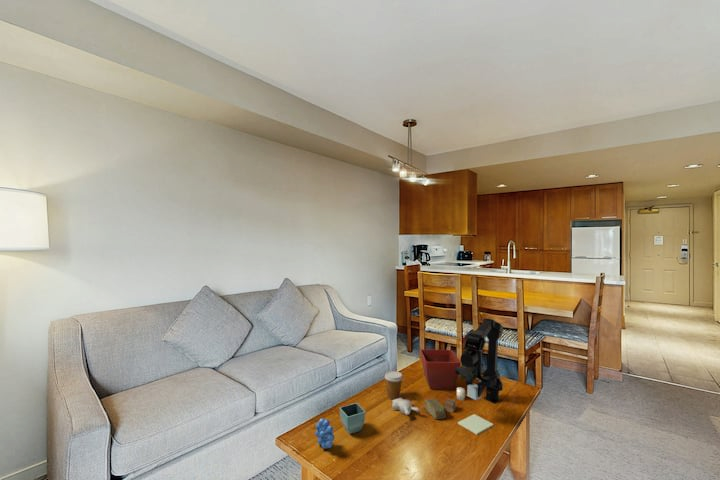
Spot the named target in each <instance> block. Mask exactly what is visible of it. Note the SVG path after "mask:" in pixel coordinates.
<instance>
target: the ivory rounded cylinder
mask: <svg viewBox="0 0 720 480" xmlns="http://www.w3.org/2000/svg"><path fill="white" fill-rule="evenodd" d="M465 393H466V391H465V388H464V387H462V386H461V387H459V386H458V387H456V400H458V401H465V396H466V394H465Z"/></svg>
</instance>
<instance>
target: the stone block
mask: <svg viewBox="0 0 720 480" xmlns="http://www.w3.org/2000/svg"><path fill="white" fill-rule="evenodd" d="M424 409H425V410H426V411H427V412H428V414H430V415H431V416H432V417H433V419H435V420H443V419H446V418H447V410H445V406H443V405H442V404H441V403H440V402H439V401H438V400H437V399H436V398H427V399H425V400H424Z"/></svg>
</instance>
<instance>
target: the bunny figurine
mask: <svg viewBox="0 0 720 480" xmlns="http://www.w3.org/2000/svg"><path fill="white" fill-rule="evenodd" d="M391 402H392V404H391V408H392V409H393V410H399V412H400V413H401V414H404V415H405V416H408V415H410V413H411V412H412V411H415V412H420V408H419V407H417V406H416V407H415V406H412V403H411V401H410V400H409V399H403V397H399V398H398V399H395V400H391Z"/></svg>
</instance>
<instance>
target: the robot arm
mask: <svg viewBox="0 0 720 480" xmlns="http://www.w3.org/2000/svg"><path fill="white" fill-rule="evenodd" d="M503 333H504V326H503V325H502V324H501V323H499V322H498V321H497V320H495V319H492V318H487V317H486V318H485V317H484V318H483V321H482V322H481V324H480V325H478V327H477V328H476V329H475V330H471V331H470V332H469V333H467V334H466V337H465V341H464V345H463V349H465V350H464V353H463V354H461V356H460V358H459V360H460V362H461V364H462V365H460V367H457V368H456V369H455V374H457V375H458V376H459V377H460V379H461V380H463V381H464V382H465V384H466V387H468V385H470V384H473V383H474V381H475V380H478V382H476V383H475V384H477V385H478V397H480V396H481V394H482V395H483V392H484V390H485V396H483V399H484V400H487V401H489V402H490V403H492V404H496V403H498V402H501V401H502V398H500V397H499V396H500V392H501V391H503V387H504V386H503V382H502V379H501V374H500V373H499V371H498V354H499V352H498V349H499V340H500V339H501V337H502V336H503ZM486 338H487V340H488V347H487V362H486V363H487V364H486V369H485V370H484V371H482V368H483V367H484V364H485V363H484V362H483V351H484V349H485V345H486ZM485 388H486V389H485Z"/></svg>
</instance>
